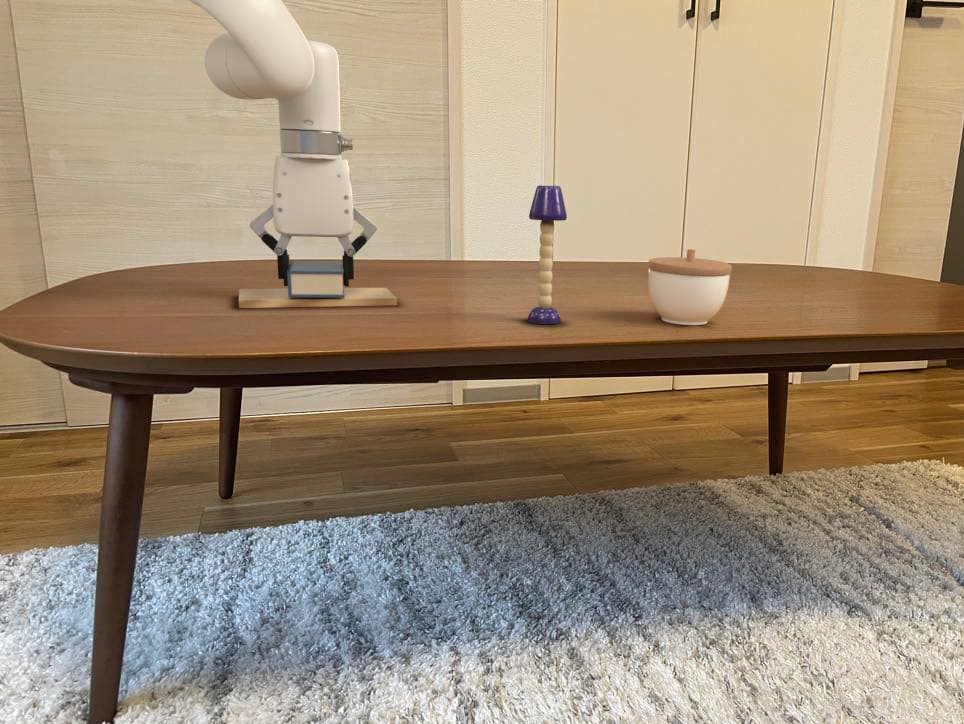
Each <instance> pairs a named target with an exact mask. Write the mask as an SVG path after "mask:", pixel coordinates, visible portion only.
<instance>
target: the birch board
mask: <svg viewBox="0 0 964 724" xmlns="http://www.w3.org/2000/svg"><path fill="white" fill-rule="evenodd" d="M382 306H383V307H384V306H385V307H387V306H389V307H390V306H398V298H397V297H396V295H394V293H393V292H392V291H390V289H389V288H387V287H344V298H327V297H288V288H239V290H238V308H239V309H262V308H263V309H264V308H265V309H266V308H267V309H268V308H270V309H271V308H320V307H321V308H325V307H326V308H327V307H328V308H329V307H333V308H334V307H382Z"/></svg>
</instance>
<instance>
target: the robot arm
mask: <svg viewBox="0 0 964 724" xmlns="http://www.w3.org/2000/svg"><path fill="white" fill-rule="evenodd" d="M189 1H190V2H192V3H193V4H195V5H196V6H198V7H199V8H201V9H202V10H204V11H205V12H206V13H207V14H208V15H210V16H211V17H212V18H213V19H215V20H216V21H217V22H218V23H219V24H220V25H221V26H222V27H223V29H225V30H226V31H227V32H226V33H223V34H220V35H219V36H217V37H216V38H214V39H213V40H212V41H211V42H210V43H209V45H208V46H207V48H206V50H205V55H204V67H205V71H206V74H207V76H208V78H209V79H210V81H211V82H212V84H213V85H214V86H215V87H216V88H217V89H218V91H219V90H220V91H221V92H222V93H224V94H226V95H227V96H229V97H232V98H235V99H238V100H246V101H248V100H251V101H252V100H254V101H255V100H264V99H266V100H267V99H275V100H277V102H278V103H277V105H278V120H279V121H278V122H279V138H280V139H279V140H280V141H279V142H280V156H275V159H274V165H273V176H272V177H273V178H272V179H273V181H272V204H271V205H270V206H269V207H268V208H266V209H265V210H264V211H263V212H261V213H260V214H259V215H258V216H257V217H255V219H253V220H252V221H250V222H249V227H250V229H251V230H252V231H253V232H254V233H255V234H256V236H257V237H259V238H260V240H261V241H262V242H263V243H264V244H265V246H267V247H268V248H269V249H270V250H271V251H272V252H273V253H274V254H275V255H276V259H277V260H276V261H277V275H278V277H277V278H278V280H283V287H288V279H287V270H288V267H289V265H290V262H291V261H290V254H289V253H288V249H287V247H288V245H289V243H290V241H291V239H292V237H310V238H311V237H313V238H337V239H338V241H339V243H340V245H341V247H342V248H343V255H342V256H341V257H342V258H341V259H342V262H343V270H344V274H342V284H343V286H344V287H346V288H350V280H353V281H354V280H355V270H354V269H355V267H354V264H355V263H354V257H355V256H356V254H357V253H358V252H359V251H360V250H362V248H363V247H364V246H365V245H366V244H367V242H368V241H369V240H370V239H371V237H373V235H374V234H375V233H376V232H377V229H378V227H377V225H376V224H375V223H374V222H373V221H372V220H370V219H369V218H368V217H366V216H365V215H364V214H363V213H362V212H361V211H360V210H358V209H357V208H356V207H354V198H353V185H352V177H351V170H350V166H349V162H348V159H343V158H342V157H343V156H342V153H345V152H347V151H353V150H354V149H353V148H354V146H353V145H354V144H353V143H354V141H353V139H351V138H347V137H344V135H343V136H342V133H341V132H342V126H341V125H342V124H341V90H340V62H339V61H340V60H339V54H338V52H337V50H336V49H335V47H334V46H332V45H330V44H329V43H326V42H322V41H318V40H310V39H307V37H306V36H305V34H304V32H303V31H302V29H301V27H300V26H299V24H298V22H297V21H296V20H295V18H294V17H293V15H292V13H291V12H290V11H289V9H288V7H287V6H286V5H285V3H284V2H283V0H189ZM270 220H273V226H274V229H275V230H274V231H276V232H277V233H278V234H280V237H279V239H276V238H275V237H274V236H273V235H272V234H271V233H270V232H269V231H268V230H267V229H266V227H265V225H266V224H267V223H268V222H269V221H270ZM354 222H356V223H358V225H360V226H361V227H362V228H363V230H362V231H361V233H360V234H359V235H358V236H357V237H356V238H355V239H354V240H352V241H351V239H350V238H349V236H350V235H351V234H352V233H353V231H354V225H355V223H354Z"/></svg>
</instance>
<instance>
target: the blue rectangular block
mask: <svg viewBox="0 0 964 724" xmlns="http://www.w3.org/2000/svg"><path fill="white" fill-rule="evenodd" d="M343 274H344V270H343V261H325V260H324V261H323V260H322V261H321V260H320V261H319V260H318V261H317V260H315V261H313V260H307V261H306V260H291V261H290V265H289V267H288V270H287V279H288V286H287V289H288V297H327V298H344V288H345V286H344V285H343Z"/></svg>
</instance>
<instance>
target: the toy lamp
mask: <svg viewBox="0 0 964 724" xmlns="http://www.w3.org/2000/svg"><path fill="white" fill-rule="evenodd" d="M534 191H535V192H534V195H533V199H532V202H531V206H530V211H529V214H528V218H529V220H531V221H540V225H539V230H540V236H539V243H540V246H539V249H538V250H539V257H540V258H539V261H538V269H539V272H538V281H539V285H538V294H539V297H538V301H537V303H538V306H536V307H534V308H532V309H531V310H530V312H529V313H528V316H527V322H528V323H530V324H534V325H556V324H560V323H561V322H562V320H561V316H560V313H559V312H558V310H557V309H556V308H554V307H552V305H553V299H552V298H553V297H552V293H553V284H552V282H553V278H554V277H553V275H554V274H553V272H552V270H553V265H554V263H553V262H554V261H553V255H554V247H553V244H554V233H553V232H554V230H555V221H556V222H558V221H563V222H564V221H567V218H568V215H567V209H566V205H565V200H564V195H563V190H562V187H561V186H559V185H537V186H536V188H535V190H534Z"/></svg>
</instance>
